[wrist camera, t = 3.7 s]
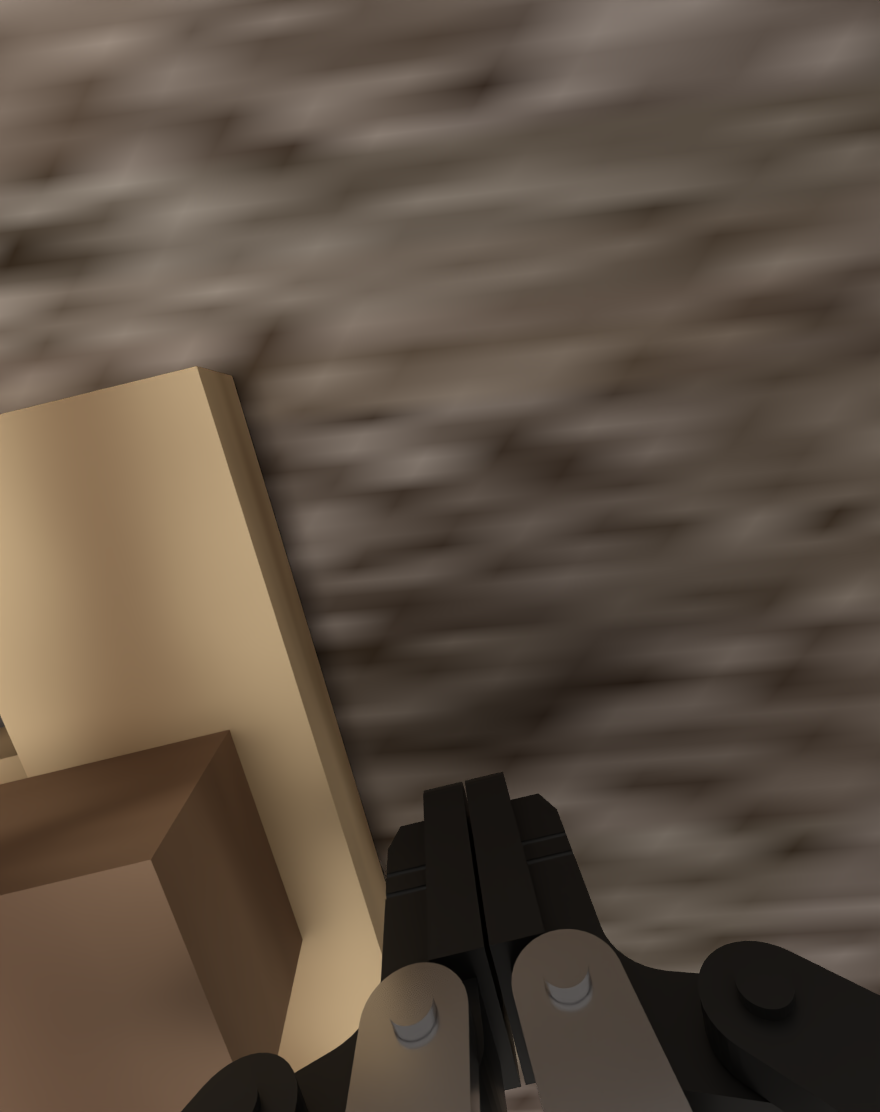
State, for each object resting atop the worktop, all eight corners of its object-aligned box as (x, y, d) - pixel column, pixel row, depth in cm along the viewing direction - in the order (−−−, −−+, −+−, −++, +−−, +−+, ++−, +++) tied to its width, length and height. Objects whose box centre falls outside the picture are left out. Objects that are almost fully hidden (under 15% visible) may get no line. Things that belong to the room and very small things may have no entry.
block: (228, 729, 11) (150, 859, 8) (302, 939, 12) (260, 1132, 9) (-23, 790, 11) (-208, 944, 8) (72, 994, 13) (-55, 1207, 9)
